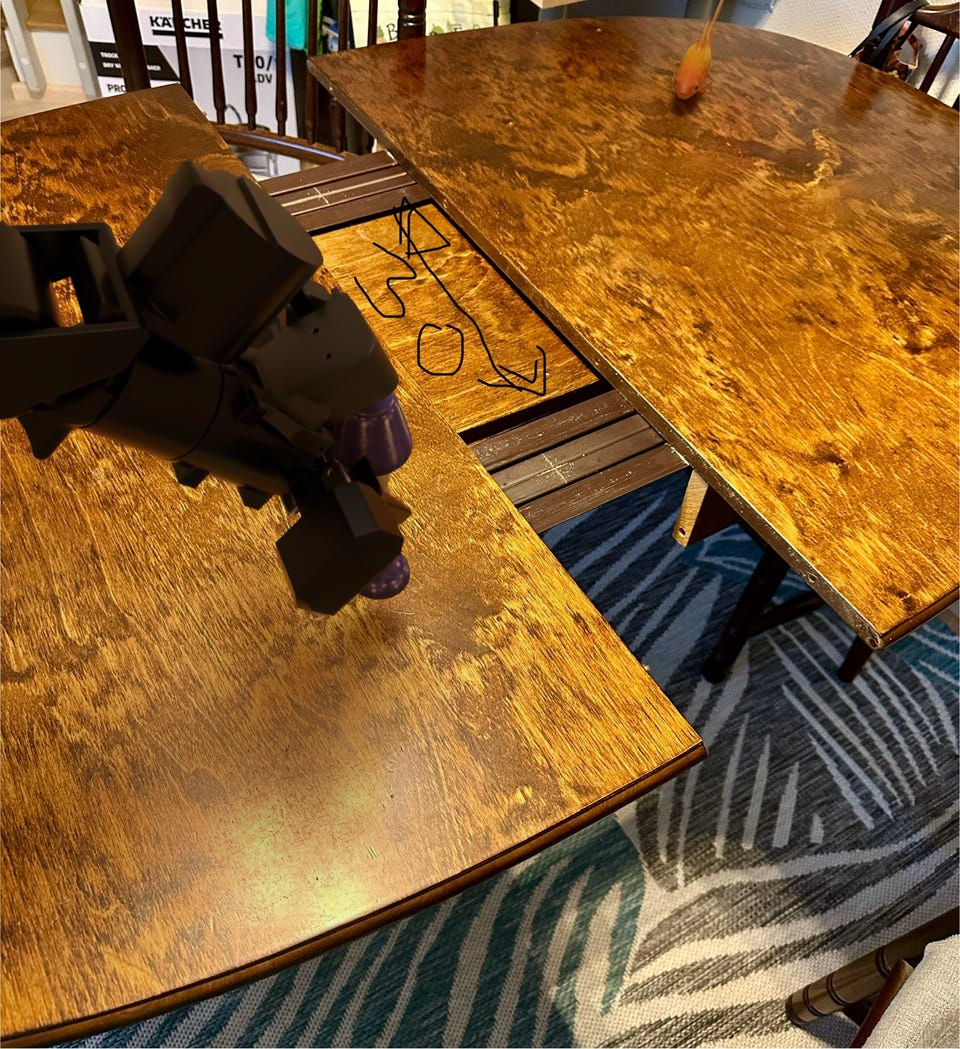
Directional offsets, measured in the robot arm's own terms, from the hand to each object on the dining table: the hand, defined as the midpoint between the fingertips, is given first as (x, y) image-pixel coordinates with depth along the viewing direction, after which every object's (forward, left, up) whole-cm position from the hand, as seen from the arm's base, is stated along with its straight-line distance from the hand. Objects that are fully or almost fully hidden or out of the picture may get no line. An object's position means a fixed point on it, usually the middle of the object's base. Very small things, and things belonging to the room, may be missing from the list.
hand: (394, 493), depth 55 cm
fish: (+4, +95, -13) cm, 96 cm away
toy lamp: (-1, -1, -8) cm, 8 cm away
